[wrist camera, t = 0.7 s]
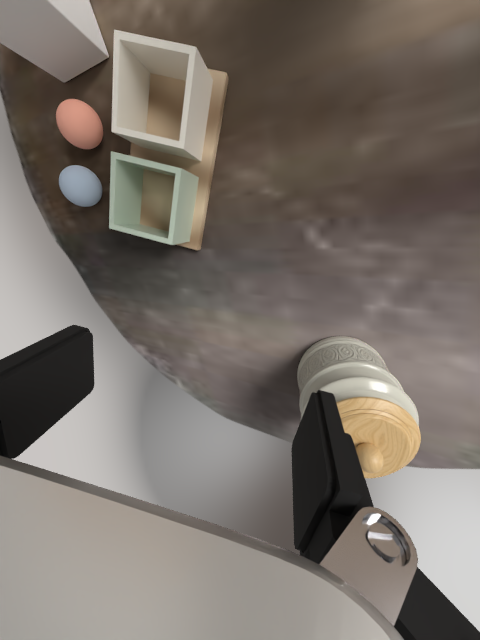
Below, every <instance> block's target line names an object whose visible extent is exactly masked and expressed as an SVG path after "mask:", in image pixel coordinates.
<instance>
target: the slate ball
mask: <svg viewBox="0 0 480 640" xmlns="http://www.w3.org/2000/svg"><path fill="white" fill-rule="evenodd" d="M59 186H60V189H61V191H62V193H63V194H64V196H65V197H66V198H67V199H68V200H69V201H71V202H72V203H74V204H76V205H79V206H83V207H89V206H93V205H95V204H96V203H98V202H99V200H100V199H101V196H102V185H101V183H100V180H99V179H98V177H97V176H96V175H95V174H94V173H93V172H92V171H91V170H89V169H88V168H86V167H83V166H79V165H71V166H68V167H66V168H65V169H63V171H62V172H61V173H60V176H59Z"/></svg>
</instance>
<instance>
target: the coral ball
mask: <svg viewBox="0 0 480 640" xmlns="http://www.w3.org/2000/svg"><path fill="white" fill-rule="evenodd" d="M56 121H57V125H58V128H59V130H60V132H61V133H62V135H63V136H64V137H65V138H66V139H67V140H68V141H69V142H70V143H71V144H73V145H74V146H76V147H78V148H81V149H93V148H95V147H97V146H98V145H99V144H100V142H101V141H102V138H103V126H102V123H101V120H100V118H99V116H98V115H97V113H96V112H95V111H94V110H93V109H92V108H91V107H90V106H89V105H88V104H86V103H85V102H83V101H80V100H77V99H67V100H65V101H63V102H62V103H60V105H59V106H58V108H57V111H56Z"/></svg>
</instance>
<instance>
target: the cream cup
mask: <svg viewBox="0 0 480 640" xmlns="http://www.w3.org/2000/svg"><path fill="white" fill-rule="evenodd" d="M150 73H153V74H157V75H162V76H166V77H171V78H175V79H180V80H184V81H186V86H185V95H184V104H183V112H182V121H181V130H180V139H179V141H176V140H172V139H168V138H164V137H159V136H155V135H151V134H147V133H146V129H147V115H148V100H149V86H150ZM212 85H213V79H212V77H211V75H210V73H209V71H208V69H207V67H206V65H205V63H204V61H203V59H202V57H201V55H200V53H199V51H198V49H197V47H194V46H190V45H185V44H180V43H175V42H171V41H166V40H161V39H156V38H152V37H147V36H142V35H137V34H133V33H128V32H123V31H118V30H114V53H113V93H112V132H113V133H115V134H117V135H119V136H121V137H122V138H124V139H126V140H128V141H130V142H132V143H134V144H136V145H138V146H140V147H143V148H147V149H151V150H156V151H160V152H164V153H168V154H172V155H176V156H180V157H185V158H189V159H193V160H197V161H201V160H202V153H203V146H204V139H205V133H206V126H207V119H208V112H209V105H210V99H211V92H212Z"/></svg>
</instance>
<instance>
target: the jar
mask: <svg viewBox="0 0 480 640" xmlns="http://www.w3.org/2000/svg"><path fill="white" fill-rule="evenodd" d="M297 381H298V386H299V391H300V400H299V407H300V412H301V419H302V417H303V414H304V411H305V409H306V406H307V404H308V401H309V398H310V396H311V393H312V392H315V393H317V391H318V390H322V391H325V392H329V393H333V394H334V396H335V400H336V403H337V407H338V410H339V414H340V417H341V421H342V425H343V428H344V432H345V433H348V434H350V435H351V437H352V439H353V442H354V445H355V448H356V452H357V455H358V458H359V461H360V465H361V468H362V471H363V474H364V478H376V477H382V476H385V475H389V474H391V473H394V472H396V471H398V470H399V469H401V468H403V467H404V466H406V465H407V464H408V463H409V462H410V461H411V460H412V459H413V458H414V457H415V455H416V453H417V452H418V449H419V446H420V441H421V436H420V430H419V427H418V426H419V418H418V412H417V409H416V407H415V405H414V403H413V402H412V400H411V399H410V398H409V396H408V395H407V394H406V393H405V392H404V391H403V388H402V386H401V384H400V383H399V381H398V380H397V379H396V378H395V377H394V376H393V375H392V374H391V373H390V372H389V370H388V369H387V367H386V365H385V362H384V361H383V359H382V358H381V356H380V355H379V354H378V352H377V351H376V350H375V349H373V348H372V347H371V346H369V345H368V344H366V343H365V342H363V341H361V340H359V339H356V338H352V337H347V336H335V337H329V338H326V339H323V340H321V341H318V342H317V343H315V344H313V345H312V346H311V347H310V348H309V349H308V350H307V351H306V352H305V353H304V355H303V356H302V358H301V360H300V363H299V366H298V371H297Z"/></svg>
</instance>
